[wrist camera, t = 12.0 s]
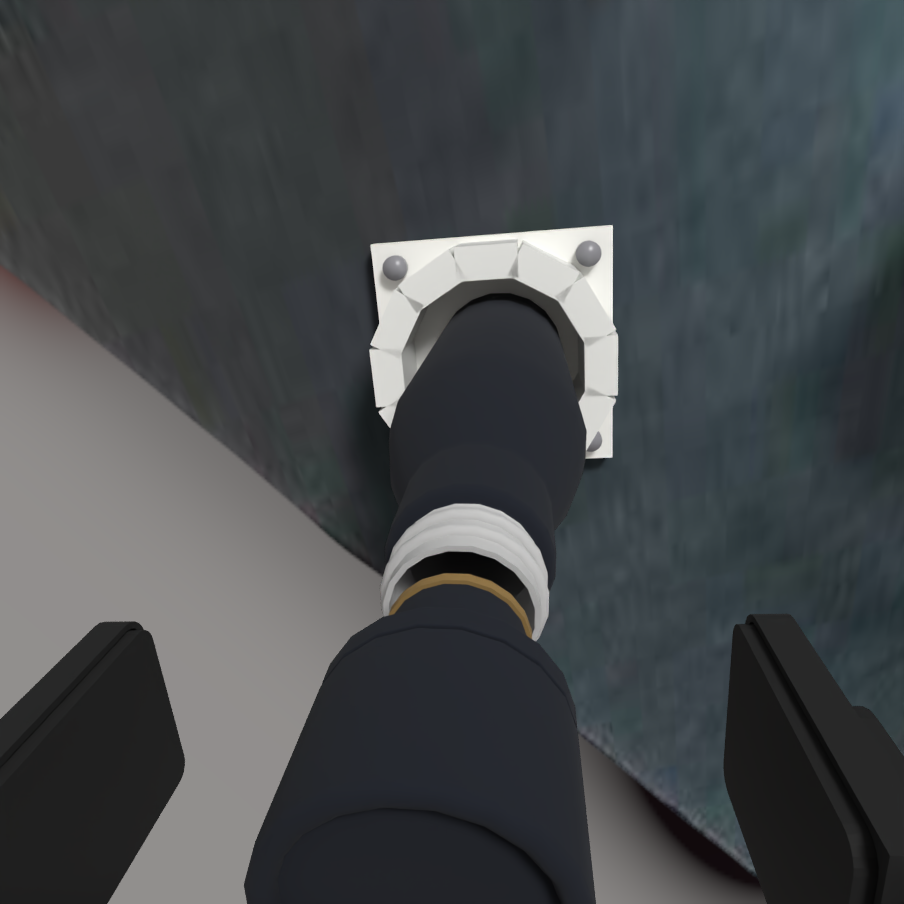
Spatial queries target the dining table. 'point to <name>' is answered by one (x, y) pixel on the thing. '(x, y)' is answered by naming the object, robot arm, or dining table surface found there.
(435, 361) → the dark blue bottle
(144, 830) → the robot arm
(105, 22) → the dining table surface
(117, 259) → the dining table surface
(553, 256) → the flange socket
